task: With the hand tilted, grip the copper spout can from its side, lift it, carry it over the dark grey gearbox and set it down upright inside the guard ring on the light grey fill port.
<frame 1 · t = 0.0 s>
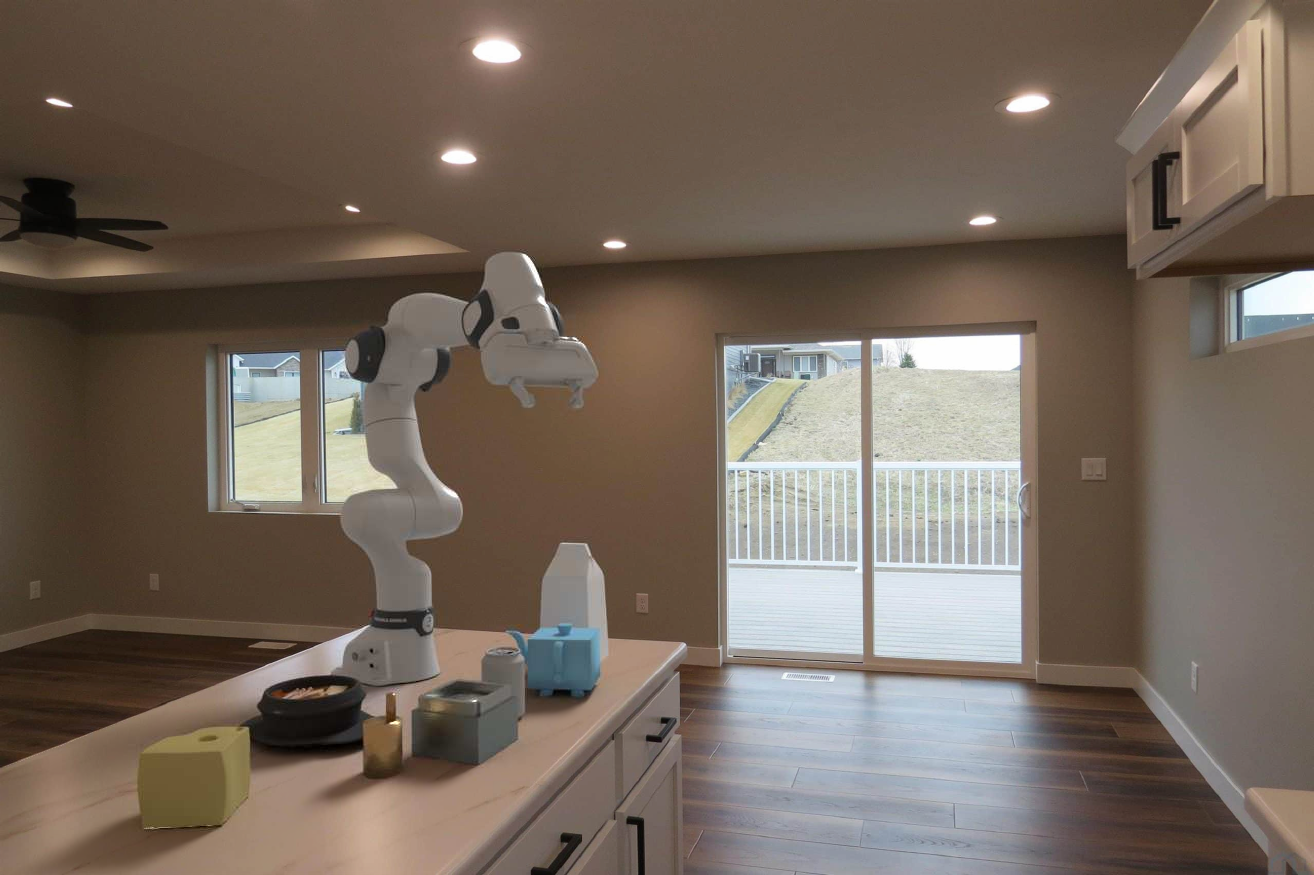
hand: (554, 406, 142), 54 cm above the worktop, tool tilted 30°, fingers open, 8 cm apart
gearbox: (466, 747, 140), on the worktop
spout can: (383, 772, 130), on the worktop
teapot: (550, 690, 172), on the worktop
cheese: (198, 815, 116), on the worktop
can: (503, 718, 155), on the worktop
milk: (574, 662, 193), on the worktop
casserole: (313, 738, 146), on the worktop
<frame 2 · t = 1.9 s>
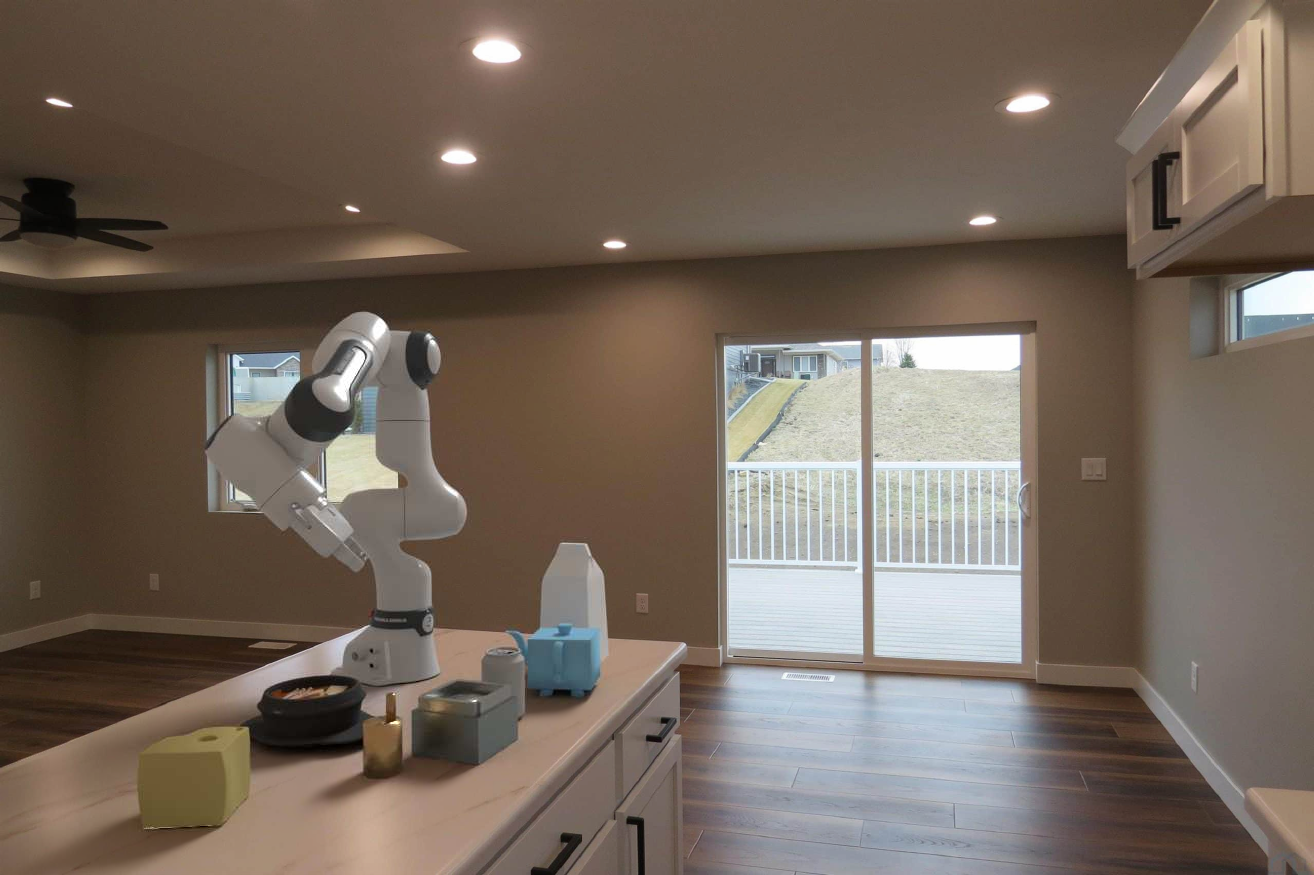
hand: (363, 564, 137), 30 cm above the worktop, tool tilted 45°, fingers open, 8 cm apart
nothing on the worktop moved.
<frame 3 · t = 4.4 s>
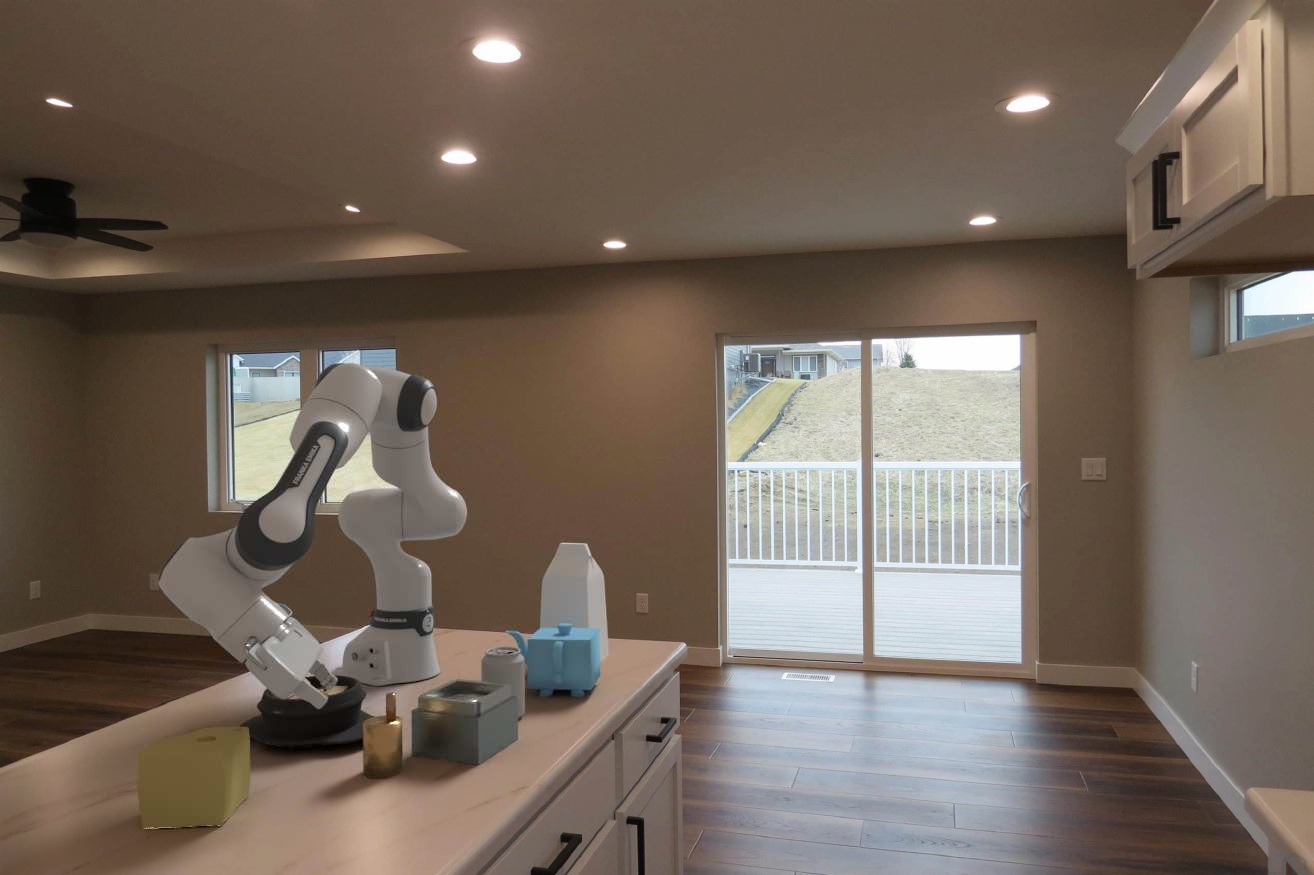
hand: (329, 694, 129), 12 cm above the worktop, tool tilted 45°, fingers open, 8 cm apart
nothing on the worktop moved.
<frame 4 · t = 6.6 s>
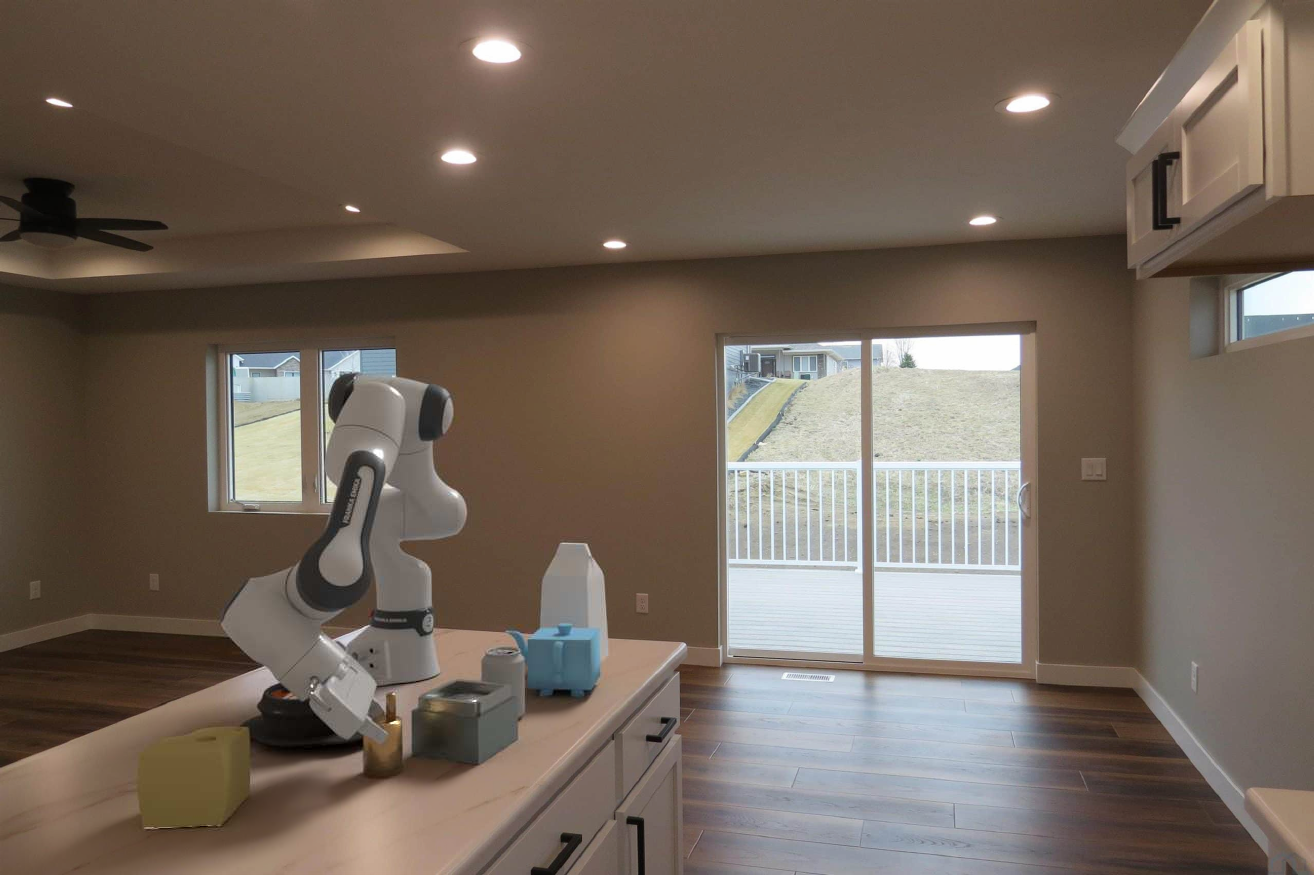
hand: (387, 731, 130), 6 cm above the worktop, tool tilted 45°, fingers closed on spout can, 6 cm apart
spout can: (383, 771, 130), on the worktop, touching gripper
everything else where it was.
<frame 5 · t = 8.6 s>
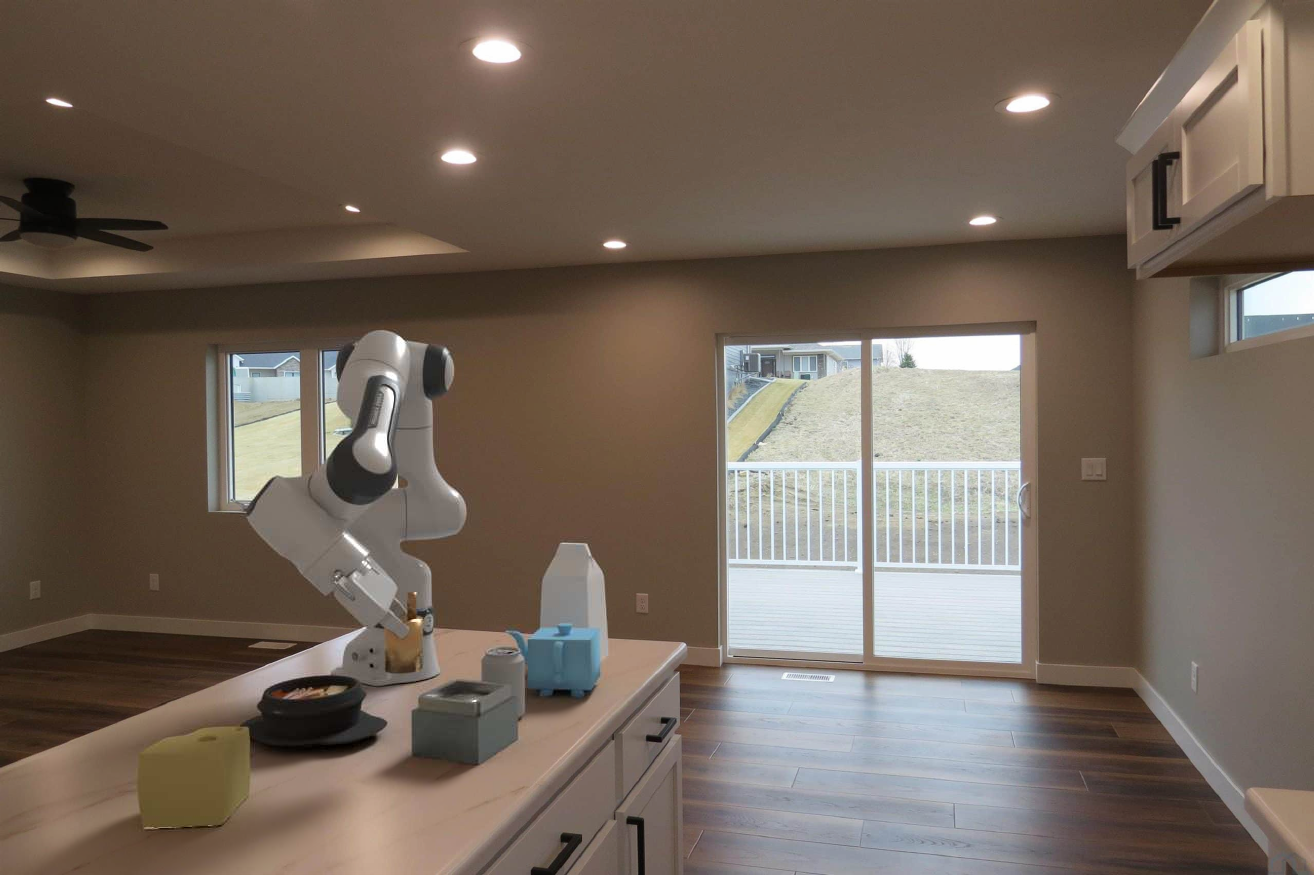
hand: (408, 628, 134), 20 cm above the worktop, tool tilted 45°, fingers closed on spout can, 6 cm apart
spout can: (404, 668, 133), point 14 cm above the worktop, touching gripper
everything else where it was.
when the fingers open (14 cm above the worktop, at t = 11.0 s): spout can stays where it is, resting on gearbox.
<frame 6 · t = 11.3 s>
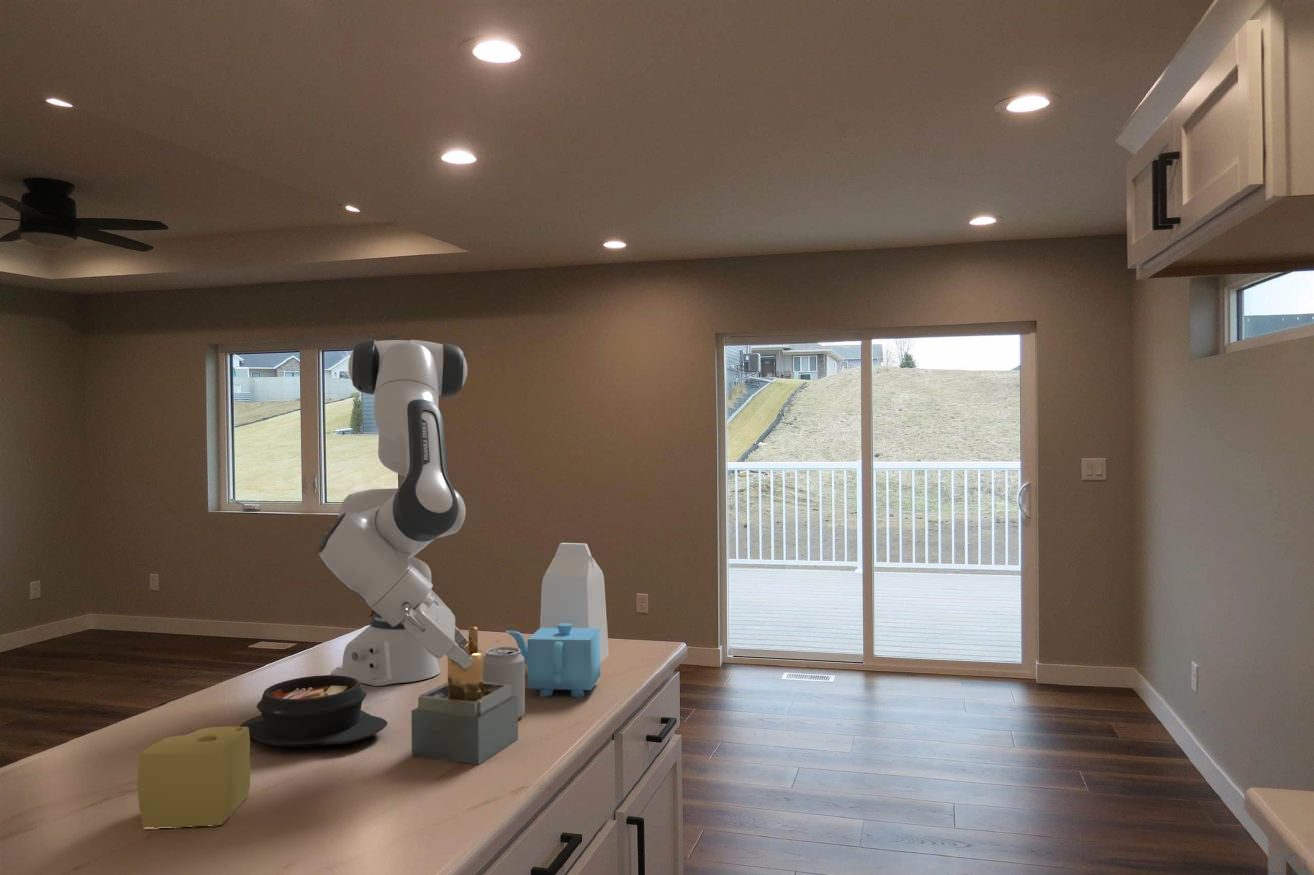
hand: (469, 656, 141), 14 cm above the worktop, tool tilted 45°, fingers open, 8 cm apart
spout can: (465, 700, 140), point 8 cm above the worktop, touching gearbox
everything else where it was.
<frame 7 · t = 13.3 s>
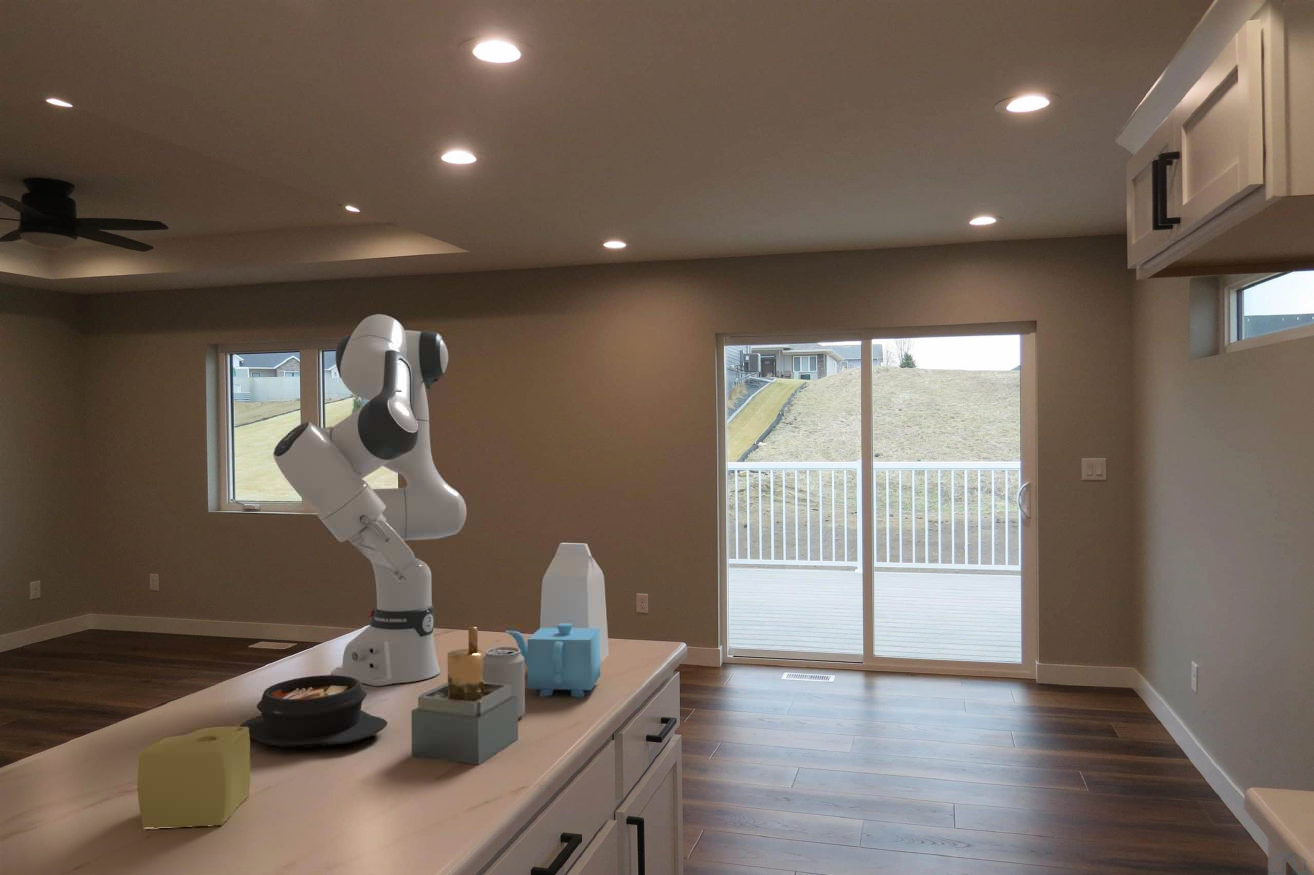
hand: (411, 581, 141), 26 cm above the worktop, tool tilted 35°, fingers open, 8 cm apart
nothing on the worktop moved.
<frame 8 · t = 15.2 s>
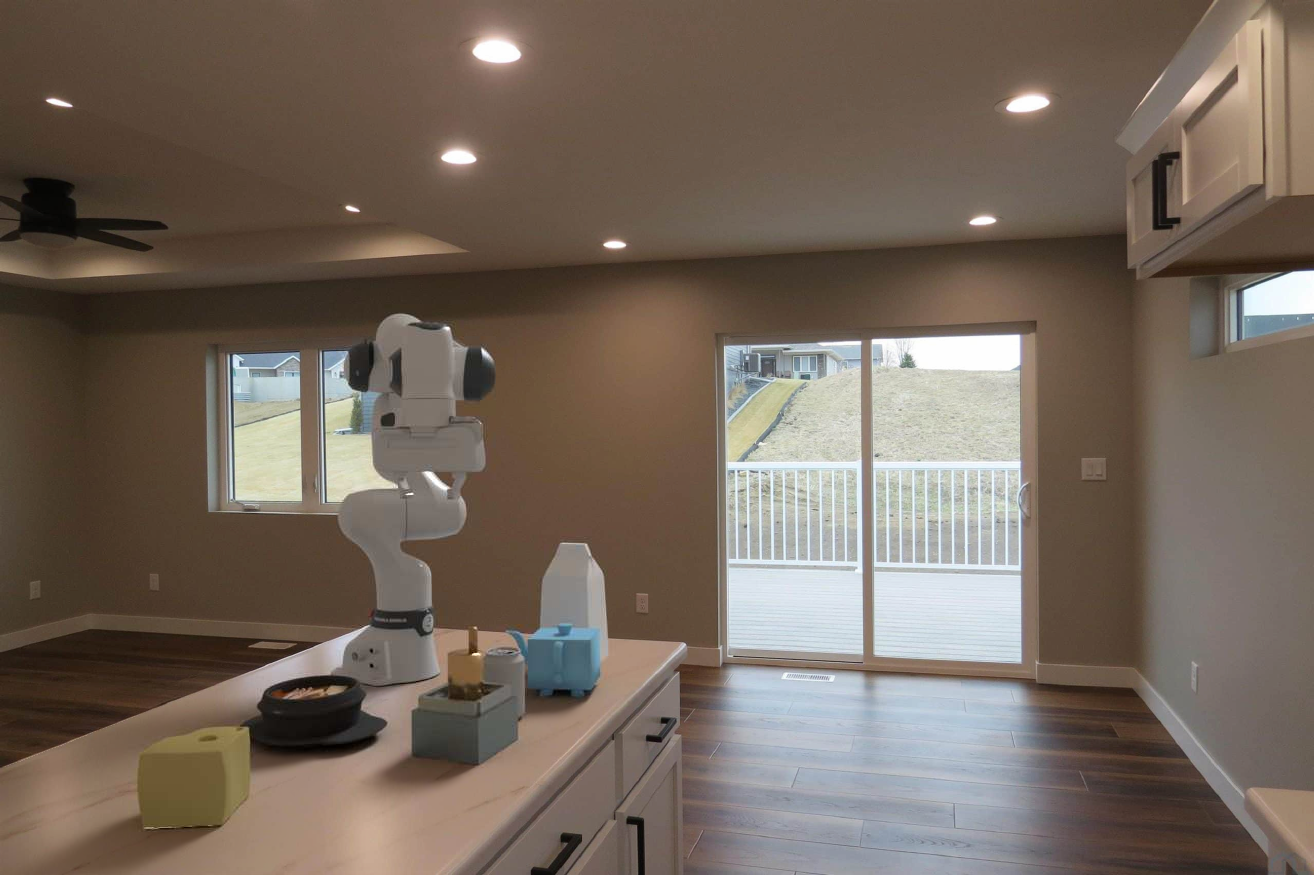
hand: (429, 499, 149), 39 cm above the worktop, tool pointing down, fingers open, 8 cm apart
nothing on the worktop moved.
at the end: spout can inside the target area on the gearbox (0.1 cm from its centre), point 7.5 cm above the gearbox's base; spout can tilted 0°; the gripper is holding nothing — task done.
